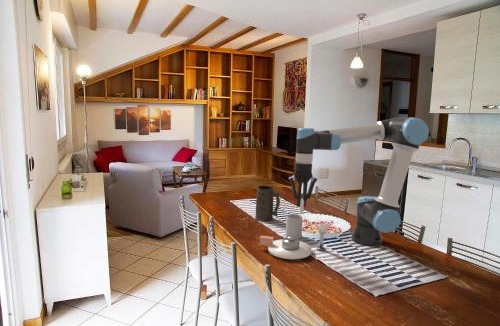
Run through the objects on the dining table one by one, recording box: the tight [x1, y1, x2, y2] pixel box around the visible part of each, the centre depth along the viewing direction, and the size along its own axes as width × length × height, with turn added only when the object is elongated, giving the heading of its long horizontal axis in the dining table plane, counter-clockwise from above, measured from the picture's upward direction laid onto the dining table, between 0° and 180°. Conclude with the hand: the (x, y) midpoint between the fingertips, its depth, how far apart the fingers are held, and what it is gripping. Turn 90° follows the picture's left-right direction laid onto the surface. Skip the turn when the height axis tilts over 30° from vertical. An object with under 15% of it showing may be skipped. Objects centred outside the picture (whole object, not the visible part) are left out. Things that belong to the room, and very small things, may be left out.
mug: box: [284, 213, 303, 240], centre depth 184 cm, size 12×8×11 cm
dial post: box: [316, 223, 328, 252], centre depth 166 cm, size 4×4×13 cm
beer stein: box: [255, 185, 281, 222], centre depth 210 cm, size 15×11×20 cm
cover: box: [281, 236, 300, 251], centre depth 162 cm, size 8×8×5 cm
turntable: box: [259, 235, 312, 260], centre depth 162 cm, size 24×20×5 cm
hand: (300, 213), depth 160 cm, fingers closed
